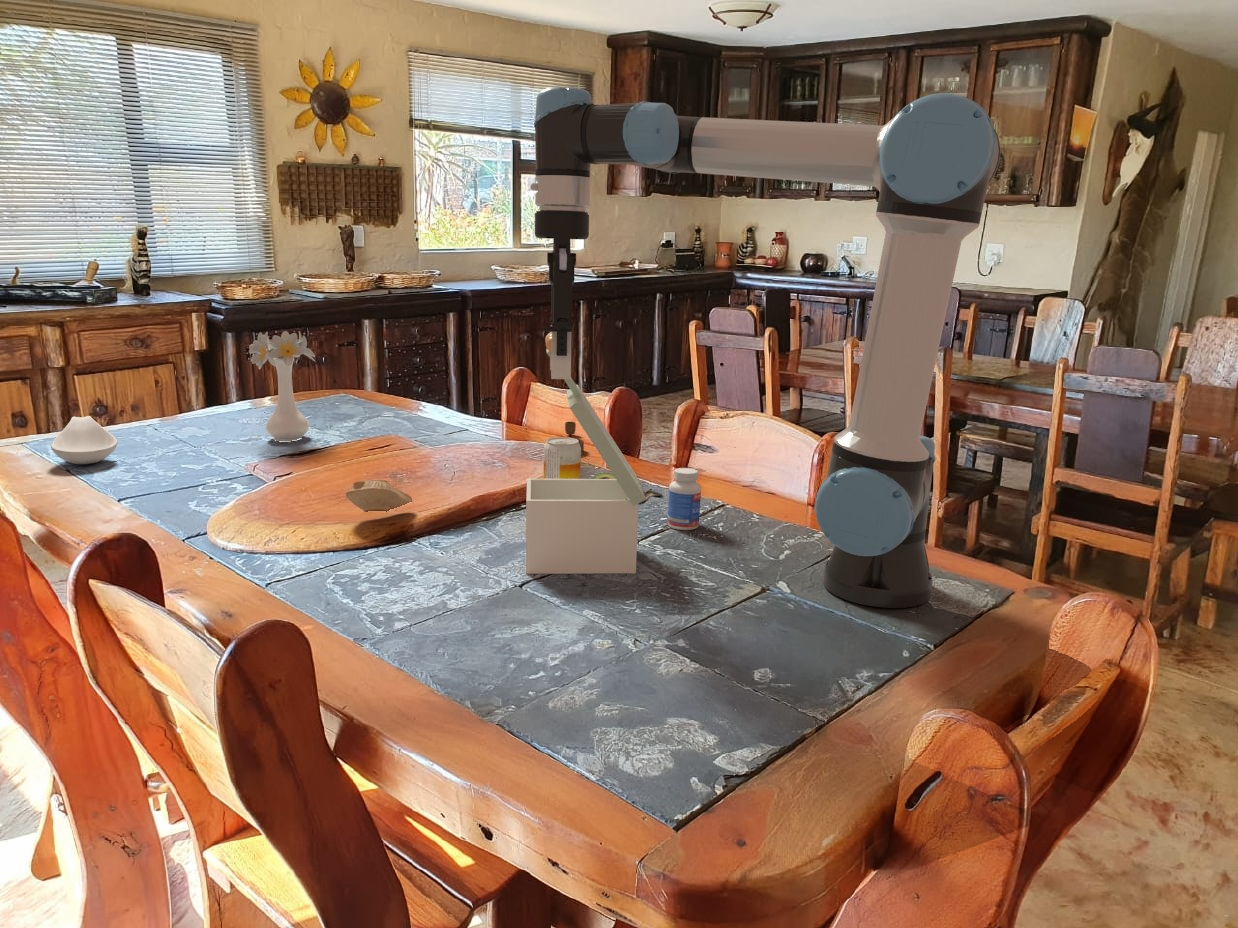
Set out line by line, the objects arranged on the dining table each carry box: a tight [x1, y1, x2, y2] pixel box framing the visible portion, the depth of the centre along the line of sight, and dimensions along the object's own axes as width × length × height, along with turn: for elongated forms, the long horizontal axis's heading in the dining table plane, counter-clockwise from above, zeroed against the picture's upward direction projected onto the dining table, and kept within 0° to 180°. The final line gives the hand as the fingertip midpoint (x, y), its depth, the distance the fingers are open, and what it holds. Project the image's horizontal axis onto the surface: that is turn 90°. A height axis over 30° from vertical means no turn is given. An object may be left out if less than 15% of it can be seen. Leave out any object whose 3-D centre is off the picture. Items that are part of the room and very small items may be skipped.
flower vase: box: [248, 330, 316, 442], centre depth 206 cm, size 13×18×25 cm
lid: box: [545, 332, 646, 506], centre depth 134 cm, size 26×13×4 cm
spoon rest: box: [50, 415, 118, 465], centre depth 192 cm, size 24×12×7 cm, turn 32°
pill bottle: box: [667, 467, 702, 531], centre depth 156 cm, size 6×5×10 cm
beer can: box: [543, 436, 582, 479], centre depth 152 cm, size 6×6×15 cm
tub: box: [525, 478, 639, 575], centre depth 138 cm, size 16×12×11 cm
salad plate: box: [591, 472, 663, 504], centre depth 173 cm, size 15×14×4 cm
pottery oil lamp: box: [345, 479, 413, 513], centre depth 157 cm, size 9×12×7 cm
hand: (560, 374), depth 132 cm, fingers closed on lid, 8 cm apart
